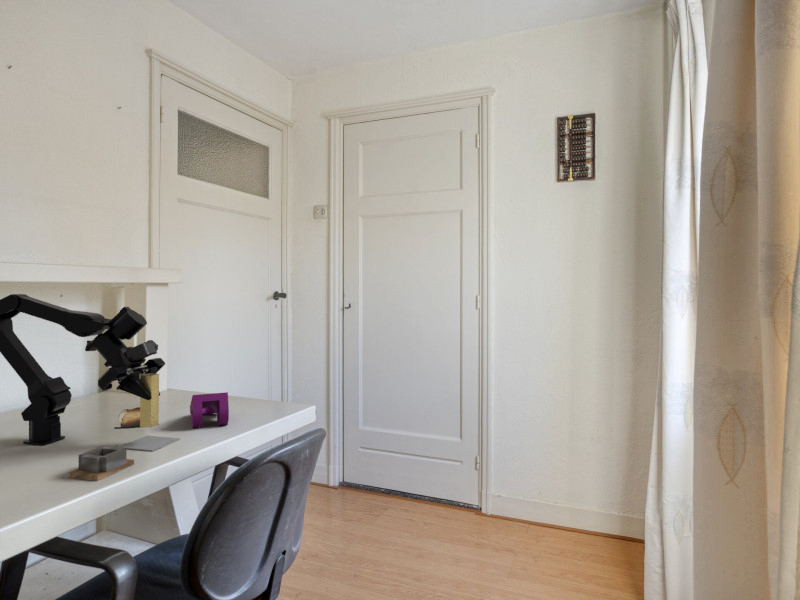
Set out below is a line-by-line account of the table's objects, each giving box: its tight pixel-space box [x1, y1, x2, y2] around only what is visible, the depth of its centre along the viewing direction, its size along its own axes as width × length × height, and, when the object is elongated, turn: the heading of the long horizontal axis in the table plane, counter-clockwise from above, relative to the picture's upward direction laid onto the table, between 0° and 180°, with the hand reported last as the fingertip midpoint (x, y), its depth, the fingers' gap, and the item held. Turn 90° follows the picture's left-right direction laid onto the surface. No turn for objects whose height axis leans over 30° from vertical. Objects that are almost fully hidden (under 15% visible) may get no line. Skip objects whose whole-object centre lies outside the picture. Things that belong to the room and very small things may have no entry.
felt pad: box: [118, 435, 181, 452], centre depth 126 cm, size 10×10×1 cm
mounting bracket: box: [189, 391, 230, 429], centre depth 148 cm, size 9×8×18 cm
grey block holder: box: [68, 446, 135, 482], centre depth 108 cm, size 7×10×4 cm
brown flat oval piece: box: [114, 406, 140, 429], centre depth 152 cm, size 25×10×1 cm, turn 24°
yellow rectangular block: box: [139, 373, 160, 429], centre depth 126 cm, size 3×3×13 cm
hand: (154, 397), depth 126 cm, fingers closed on yellow rectangular block, 3 cm apart
